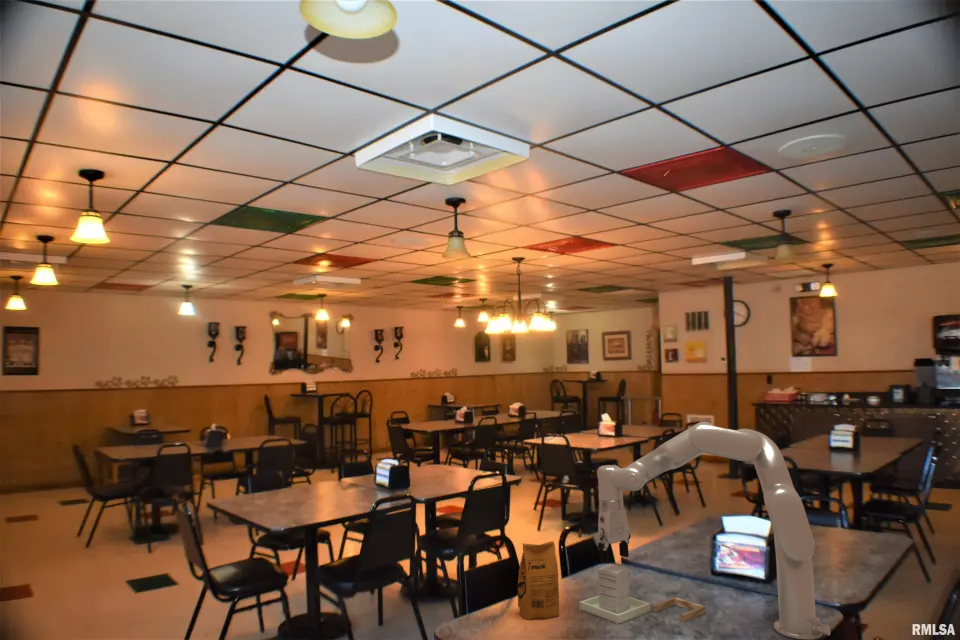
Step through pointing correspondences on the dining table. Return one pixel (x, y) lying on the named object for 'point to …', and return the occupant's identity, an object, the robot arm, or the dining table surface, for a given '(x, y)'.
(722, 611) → the dining table surface
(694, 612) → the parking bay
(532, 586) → the coffee package
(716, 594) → the dining table surface
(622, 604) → the supplement box
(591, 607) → the tray
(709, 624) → the dining table surface
